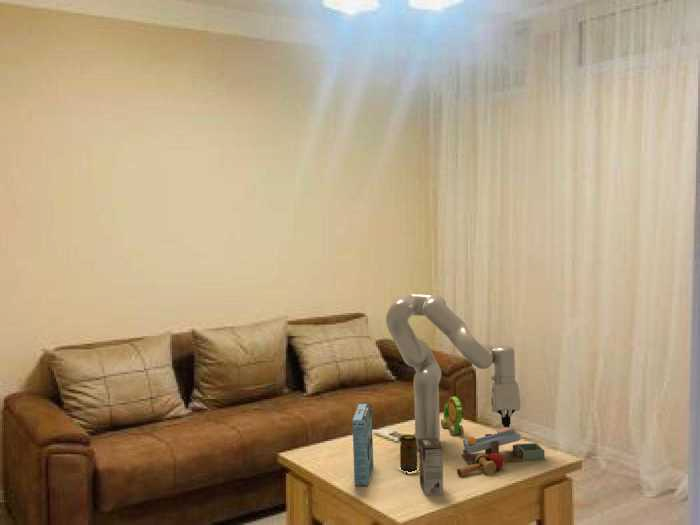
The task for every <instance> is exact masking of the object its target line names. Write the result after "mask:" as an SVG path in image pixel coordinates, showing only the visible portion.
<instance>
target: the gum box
mask: <svg viewBox="0 0 700 525" xmlns="http://www.w3.org/2000/svg"><path fill="white" fill-rule="evenodd" d="M372 413H373V412H372V404H370V403H359V404H358V406H357V408H356V410H355V413H354V415H353V418H352V420H351V421H352V439H353V440H352V444H353V445H352V446H353V447H352V448H353V449H352V451H353V475H354V476H353V477H354V480H353V484H355V485H354V486H356V485H368V486H369V484H370V478H371V475H372V472H373V467H374V447H373V446H374V443H373V418H372V417H373V416H372V415H373V414H372ZM371 471H372V472H371Z"/></svg>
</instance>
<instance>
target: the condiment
mask: <svg viewBox="0 0 700 525" xmlns="http://www.w3.org/2000/svg"><path fill="white" fill-rule="evenodd" d="M400 439H401V440H400V445H399V446H400V448H399V450H400V451H399V452H400V453H399V456H400V460H399V461H400V462H399V463H400V464H399V466H400V467H401V470H403V471H408V472H412V471H415V470H417V467H418V451H417V444H416V437H415V436H414V435H413V434H403V435H402V436H401V437H400ZM418 468H419V470H418V471H420V467H418ZM403 471H401V472H402V473H403V474H405V475H408V473H407V472H406V473H404V472H403ZM418 471H417V473H416V474H419V473H418Z"/></svg>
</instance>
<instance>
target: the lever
mask: <svg viewBox="0 0 700 525" xmlns="http://www.w3.org/2000/svg"><path fill="white" fill-rule="evenodd" d="M475 439H476V441H477V444H476V445H474V446H469V443H468V442H467V440H466V438H465V439H462V444H463V448H464V449H463V450H466V451H467V453H468V454H475V453H479V452H481V451H485V450H486V449H490V448H492V441H498V442H499V447H501V446H504V445H508V444H512V443H515V442H519V441H522V439H521V435H520V433H517V432H516V430H515V428H512V429H511V428H509V427H507V428H505V427H504V428H501V429H498V430H496V433H494V434H492V435H489V436H482V437H478V438H475Z"/></svg>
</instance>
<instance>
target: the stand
mask: <svg viewBox="0 0 700 525" xmlns="http://www.w3.org/2000/svg"><path fill="white" fill-rule="evenodd" d="M489 435H493V434H492V433H485V436H489ZM485 436H484V437H485ZM484 451H485V452H475V453H471V454H468V453H467V451H466V450H465V449H462V453H461V458H462V459H463V460H464V462H465V463H466V465H467V466H470V465H474V464H476V463H475V459H476V457H477V456H478V455H480V454H482V455H485V456H486V458H487V457H488V456H489V454H491V453H499V454H500V455H501V456H502V457H503V460H504V463H518V462H519V463H520V462H525V461H524V460H523V458H522V457H521V449H520V448H519V446H518V445H516V444H512V450H511V451H500V446H499V442H498V441H492V448H490V449H486V450H484Z"/></svg>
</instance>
